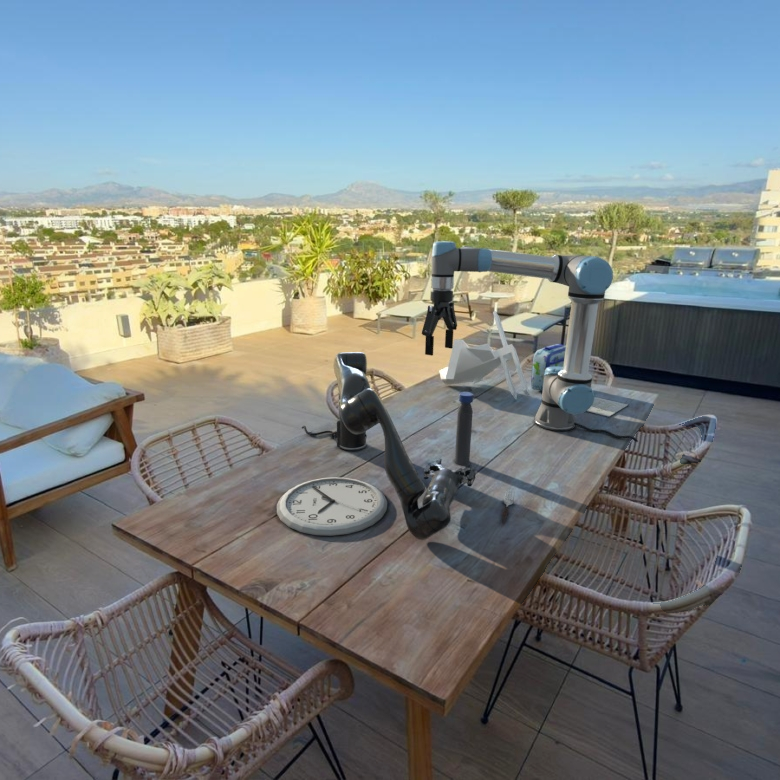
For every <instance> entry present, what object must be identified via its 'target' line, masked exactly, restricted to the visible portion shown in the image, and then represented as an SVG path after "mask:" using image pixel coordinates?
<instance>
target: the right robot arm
mask: <svg viewBox="0 0 780 780" xmlns="http://www.w3.org/2000/svg"><path fill="white" fill-rule="evenodd" d="M456 245H457V244H456V242H454V241H435V242H433V244H432V251H431V278H430V288H431V290H430V296H429V297H430V298H429V299H430V302H433V305H427V312H426V316H425V320H424V322H423V328H422V330H421V335H422V336H425V342H424V343H425V345H424V346H425V347H424V355H427V356H434V345H435V343H434V341H435V336H434V332H435V330H436V328H437V326H438V324H439V321H440V320H441V319H443V321H444V324H445V327H446V329H445V337H444V348H445V349H451V350H452V348H453V344H454V331H456V330H457V327H458V321H457V315H456V311H455V302H454V301H453V300H454V291H453V289H454V284H455V283H454V282H455V280H454V279H455V272H457V273H459V272H465V273H466V272H469V273H485V272H488V273H489V272H490V273H497V274H505V275H513V276H514V275H515V276H520V277H521V276H523V277H528V278H529V277H530V278H531V277H532V278H539V279H546V280H548V282H550V283H556V284H560V285H563V286H566V287H568V292H567V297H568V299H569V300H570V301H571V305H570V312H569V321H568V327H567V328H568V329H567V336H566V344H565V345H566V350H565V357H564V365H563V367H548V368H546V369H545V374H544V382H543V391H541V392H542V394H541V402H540V405H539V407H538V410H537V411H536V413H535V417H534V424H535V425H536V426H537V427H539V428H542V429H544V430H549V431H556V432H567V431H572V430H574V429H575V428H576V426H577V427H578V428H582V429H583V430H585V431H588V432H591V433H604V434H607V435H609V436H611V437H614V438H615V439H619V440H620V439H621V440H623V439H631V440H633V441H634V442H636V443H638V442H639V440H638V439H637V438H636V437H635V436H633V435H618V434H615V433H613V432H610V431H609V430H606V429H598V428H597V429H595V428H590V427H587V426H585V425H582V424H580V423H577V422H576V418H575V417H576V416H575V415H581V414H583V413H585V412H588V411H587V410H588V409H589V408H590V407H591V406H592V404H593V402H594V397H595V393H594V390H593V389H592V382H593V375H592V374H591V373H590V371H589V370H590V365H591V363H590V362H591V358H592V357H591V356H592V351H593V343H594V337H595V328H596V321H597V317H598V309H599V305H600V303H601V302H602V301H604V299H605V296H606V295H605V294H606V291H607V290H608V289H609V288H610V287H611V286H612V283H613V279H614V272H613V271H614V270H613V268H612V266H611V264H610V263H609V262H608V261H607V260H605V259H603V258H601V257H599V256H594V255H584V254H575V255H565V254H563V255H562V254H554V255H553V256H547V255H546V256H545V255H537V254H530V253H520V252H511V251H505V250H497V249H496V250H495V249H489V248H483V247H481V248H479V247H471V246H468V245H467V246H466V245H464V246H462V247H457V246H456Z"/></svg>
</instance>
